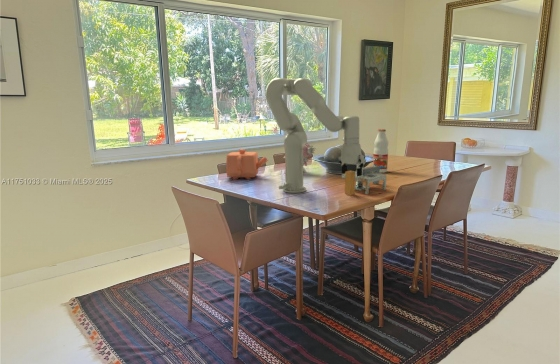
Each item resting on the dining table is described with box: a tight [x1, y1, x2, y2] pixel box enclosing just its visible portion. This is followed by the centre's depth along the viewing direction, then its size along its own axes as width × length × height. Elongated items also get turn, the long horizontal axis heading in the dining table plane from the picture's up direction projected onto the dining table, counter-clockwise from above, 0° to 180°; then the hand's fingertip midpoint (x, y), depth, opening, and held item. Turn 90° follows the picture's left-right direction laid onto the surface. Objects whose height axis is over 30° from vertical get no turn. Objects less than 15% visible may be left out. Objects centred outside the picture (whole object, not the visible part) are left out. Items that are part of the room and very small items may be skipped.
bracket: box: [363, 165, 380, 185], centre depth 210 cm, size 14×2×10 cm, turn 129°
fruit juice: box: [372, 128, 389, 174], centre depth 246 cm, size 9×9×28 cm
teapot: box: [225, 148, 269, 180], centre depth 235 cm, size 25×23×18 cm
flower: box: [282, 142, 316, 173], centre depth 246 cm, size 20×22×24 cm
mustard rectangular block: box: [344, 170, 356, 196], centre depth 192 cm, size 4×4×12 cm
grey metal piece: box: [341, 154, 387, 195], centre depth 202 cm, size 16×18×18 cm
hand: (351, 174), depth 191 cm, fingers open, 9 cm apart
